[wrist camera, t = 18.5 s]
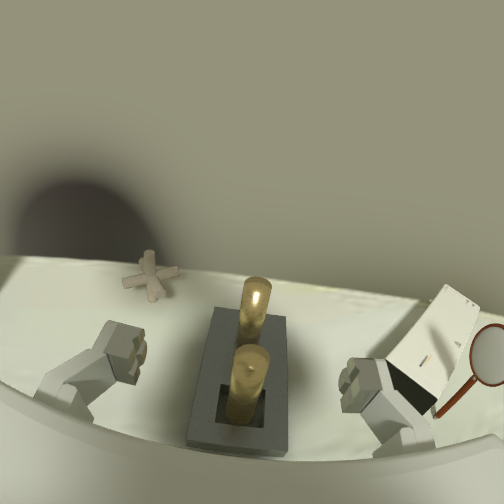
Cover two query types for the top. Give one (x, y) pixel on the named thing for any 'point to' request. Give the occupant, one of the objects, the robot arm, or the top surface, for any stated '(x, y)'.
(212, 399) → the bolt plate
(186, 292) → the top surface
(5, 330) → the top surface
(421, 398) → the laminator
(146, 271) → the pipe connector
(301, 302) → the top surface
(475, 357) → the magnifying glass
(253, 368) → the brass pin
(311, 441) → the top surface
